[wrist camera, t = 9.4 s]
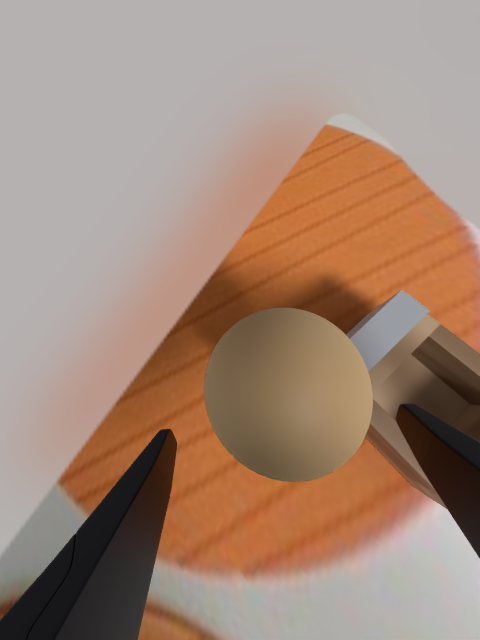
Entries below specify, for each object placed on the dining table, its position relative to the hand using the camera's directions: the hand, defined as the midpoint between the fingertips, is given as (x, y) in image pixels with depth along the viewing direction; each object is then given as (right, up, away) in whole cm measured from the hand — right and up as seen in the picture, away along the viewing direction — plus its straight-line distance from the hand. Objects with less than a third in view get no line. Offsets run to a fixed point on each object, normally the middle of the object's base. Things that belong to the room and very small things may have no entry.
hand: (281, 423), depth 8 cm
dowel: (+1, -2, +9) cm, 9 cm away
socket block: (+11, -2, +8) cm, 13 cm away
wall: (+7, +2, +9) cm, 12 cm away
